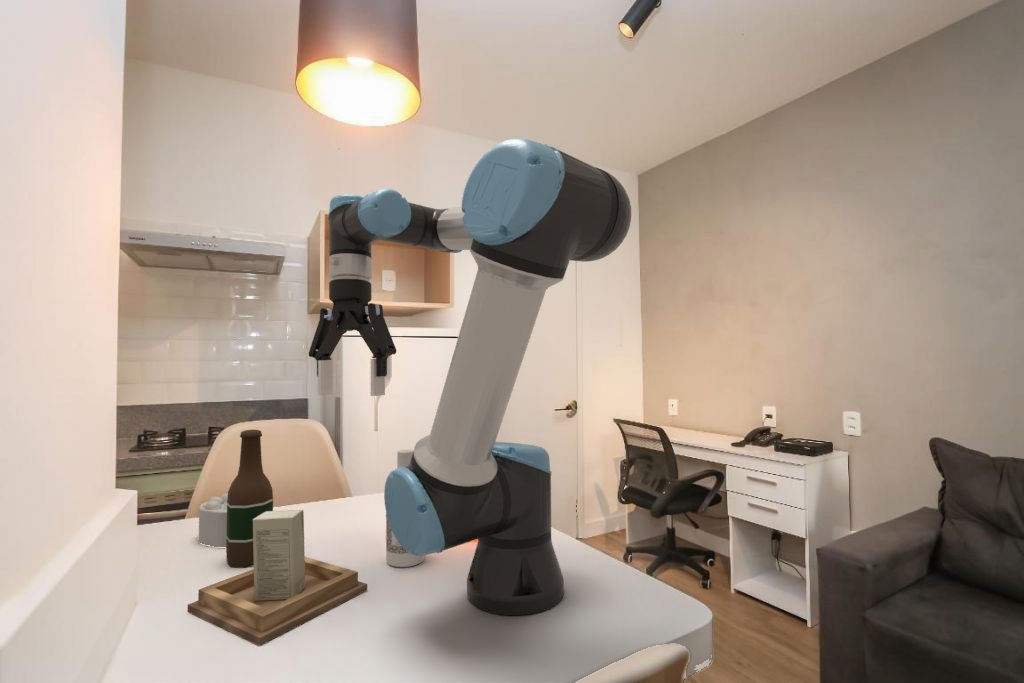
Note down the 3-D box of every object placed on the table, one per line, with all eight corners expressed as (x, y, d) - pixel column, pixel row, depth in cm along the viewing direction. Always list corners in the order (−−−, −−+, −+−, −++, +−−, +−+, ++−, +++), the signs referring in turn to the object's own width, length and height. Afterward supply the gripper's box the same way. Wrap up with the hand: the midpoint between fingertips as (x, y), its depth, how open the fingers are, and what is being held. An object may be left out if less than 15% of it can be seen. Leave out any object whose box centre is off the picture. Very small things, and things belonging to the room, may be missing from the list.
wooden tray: (367, 590, 79) (367, 571, 79) (259, 645, 63) (259, 621, 64) (296, 567, 88) (296, 550, 88) (187, 611, 73) (187, 590, 73)
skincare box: (306, 587, 78) (306, 508, 79) (294, 600, 74) (295, 517, 74) (264, 588, 78) (265, 509, 78) (251, 601, 73) (251, 518, 74)
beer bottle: (216, 563, 91) (218, 432, 92) (255, 549, 97) (256, 427, 99) (243, 571, 87) (244, 434, 88) (281, 556, 94) (282, 428, 95)
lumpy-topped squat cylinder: (224, 550, 97) (224, 506, 98) (184, 541, 103) (185, 499, 103) (270, 534, 107) (271, 493, 107) (232, 526, 112) (232, 487, 113)
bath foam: (402, 551, 95) (401, 446, 96) (432, 556, 92) (431, 448, 93) (378, 564, 89) (378, 452, 90) (410, 570, 86) (409, 455, 87)
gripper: (289, 284, 95) (288, 395, 94) (385, 270, 83) (386, 397, 82) (321, 289, 101) (321, 393, 100) (415, 276, 89) (416, 394, 88)
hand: (350, 395), depth 91 cm, fingers open, 13 cm apart
